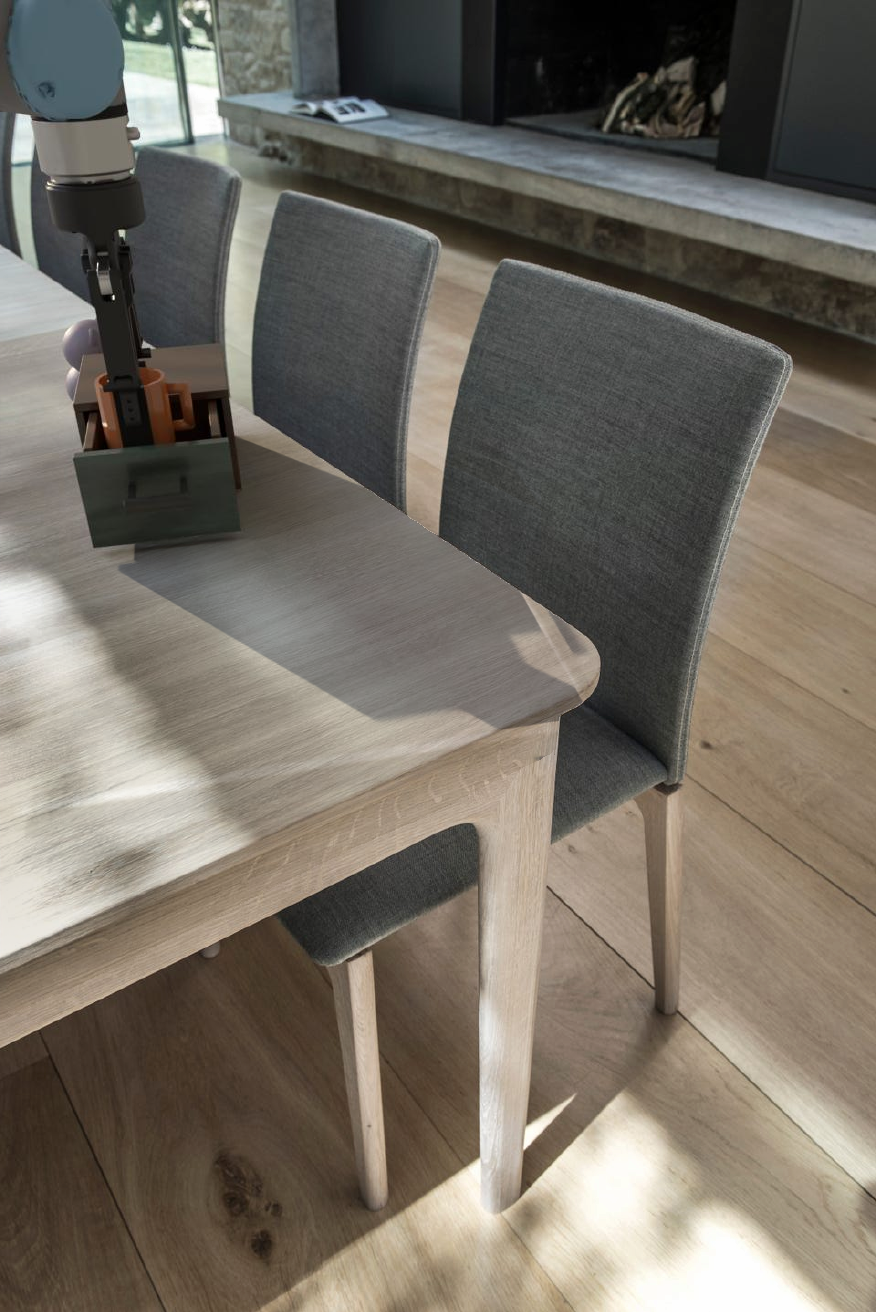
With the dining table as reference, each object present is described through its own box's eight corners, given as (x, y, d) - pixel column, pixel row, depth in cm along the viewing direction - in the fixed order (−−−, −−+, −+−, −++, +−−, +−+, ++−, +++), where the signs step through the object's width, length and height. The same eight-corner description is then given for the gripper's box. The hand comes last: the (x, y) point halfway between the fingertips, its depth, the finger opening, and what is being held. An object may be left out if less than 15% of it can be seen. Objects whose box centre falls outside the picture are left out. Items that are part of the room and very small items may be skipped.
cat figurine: (79, 412, 128) (56, 312, 121) (145, 407, 129) (126, 307, 122) (70, 438, 121) (46, 333, 114) (140, 432, 122) (120, 328, 115)
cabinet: (242, 490, 108) (228, 389, 102) (95, 506, 105) (72, 404, 99) (233, 434, 120) (221, 342, 114) (103, 448, 118) (83, 354, 112)
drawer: (244, 554, 94) (231, 462, 89) (90, 572, 92) (68, 479, 87) (233, 470, 110) (221, 388, 105) (101, 484, 107) (83, 401, 102)
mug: (107, 462, 95) (92, 392, 92) (110, 437, 100) (96, 370, 97) (198, 452, 97) (187, 383, 93) (197, 428, 102) (186, 362, 98)
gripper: (135, 192, 78) (184, 479, 91) (141, 155, 94) (181, 404, 107) (31, 198, 77) (94, 488, 90) (54, 160, 93) (105, 411, 105)
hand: (141, 442), depth 98 cm, fingers closed on mug, 6 cm apart
